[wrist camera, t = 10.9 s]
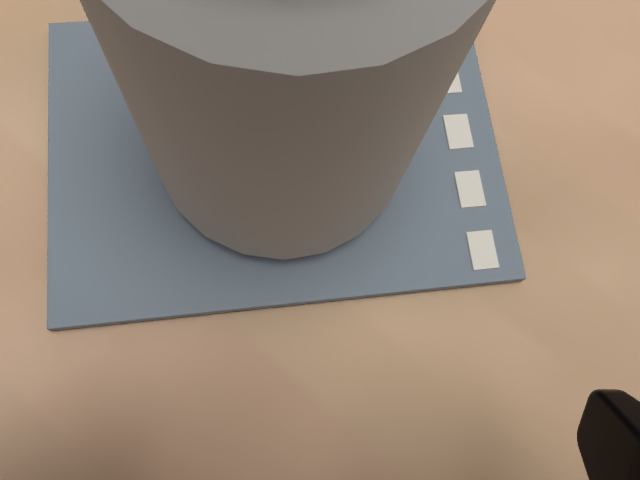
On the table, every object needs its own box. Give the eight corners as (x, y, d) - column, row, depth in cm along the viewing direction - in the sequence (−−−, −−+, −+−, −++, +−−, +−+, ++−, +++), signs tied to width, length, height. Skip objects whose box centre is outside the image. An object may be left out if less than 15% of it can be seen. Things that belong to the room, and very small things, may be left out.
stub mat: (52, 330, 17) (45, 328, 17) (53, 30, 20) (48, 21, 20) (521, 281, 19) (527, 277, 18) (460, 8, 22) (465, -1, 21)
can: (111, 127, 19) (-139, -338, 7) (302, 10, 21) (341, -510, 9) (255, 318, 17) (225, 112, 6) (447, 175, 19) (707, -195, 8)
